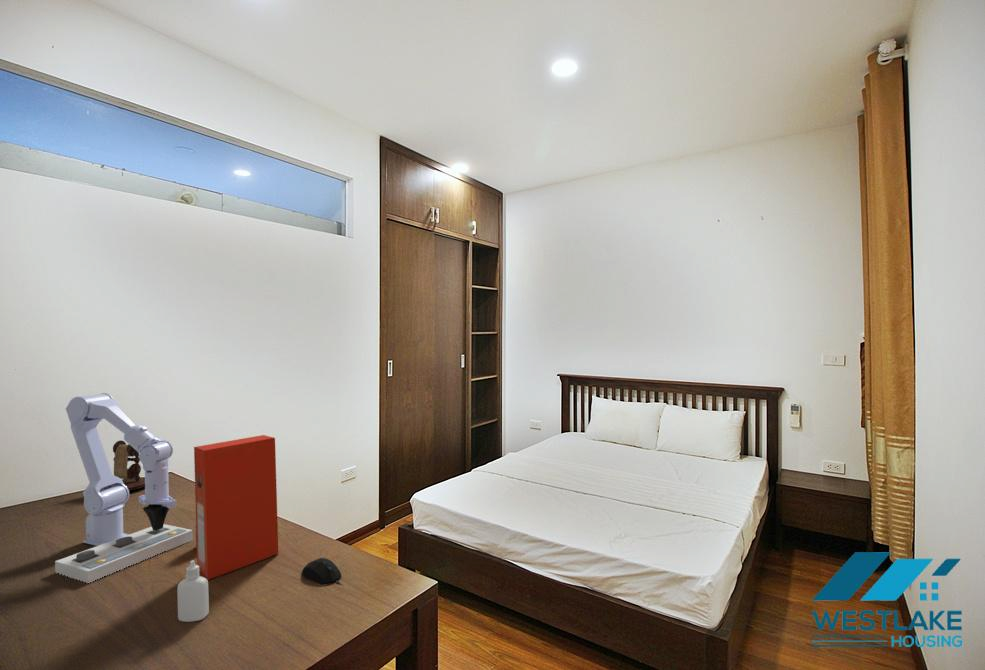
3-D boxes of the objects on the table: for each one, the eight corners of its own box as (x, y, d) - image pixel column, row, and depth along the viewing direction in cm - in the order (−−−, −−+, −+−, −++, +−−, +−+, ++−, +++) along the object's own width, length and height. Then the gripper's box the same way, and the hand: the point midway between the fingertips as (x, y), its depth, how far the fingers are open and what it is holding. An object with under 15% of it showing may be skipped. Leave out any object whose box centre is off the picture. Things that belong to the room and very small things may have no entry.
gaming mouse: (331, 593, 108) (331, 576, 108) (296, 575, 117) (296, 559, 117) (354, 581, 113) (354, 565, 113) (319, 564, 122) (319, 549, 122)
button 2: (147, 539, 138) (147, 532, 138) (160, 534, 141) (160, 527, 141) (155, 540, 136) (155, 534, 136) (168, 535, 140) (168, 529, 140)
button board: (55, 572, 121) (55, 560, 121) (160, 533, 145) (160, 522, 145) (88, 583, 115) (88, 570, 115) (192, 540, 139) (192, 529, 139)
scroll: (94, 495, 183) (92, 444, 183) (129, 483, 198) (128, 436, 198) (126, 496, 181) (125, 445, 181) (159, 484, 195) (158, 436, 195)
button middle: (113, 548, 130) (112, 540, 130) (127, 542, 133) (127, 535, 133) (120, 550, 128) (120, 542, 128) (135, 544, 132) (135, 537, 132)
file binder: (197, 570, 120) (194, 446, 120) (265, 546, 133) (262, 434, 133) (208, 580, 115) (205, 450, 115) (278, 554, 128) (275, 438, 128)
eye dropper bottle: (196, 608, 103) (195, 554, 103) (211, 615, 100) (210, 559, 100) (175, 619, 99) (173, 562, 99) (190, 626, 96) (189, 568, 96)
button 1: (73, 562, 121) (73, 555, 121) (90, 556, 125) (89, 549, 125) (81, 565, 120) (81, 557, 120) (97, 558, 123) (97, 551, 123)
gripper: (127, 484, 138) (128, 530, 138) (158, 490, 132) (159, 538, 132) (152, 477, 145) (153, 521, 145) (183, 482, 139) (184, 528, 139)
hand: (157, 529), depth 139 cm, fingers closed
